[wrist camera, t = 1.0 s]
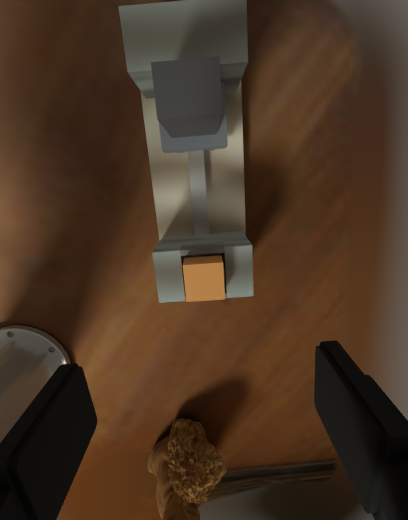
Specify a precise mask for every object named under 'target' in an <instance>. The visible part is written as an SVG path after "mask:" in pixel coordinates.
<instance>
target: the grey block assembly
mask: <svg viewBox="0 0 408 520" xmlns="http://www.w3.org/2000/svg"><path fill="white" fill-rule="evenodd" d="M118 7H119V14H120V21H121V29H122V36H123V43H124V50H125V58H126V65H127V72H128V74H129V75H130V77H131V78H132V79H133V81H134V82H135V84H136V85H137V86H138V88H139V89H140V92H141V100H142V108H143V116H144V123H145V131H146V139H147V147H148V155H149V162H150V170H151V178H152V186H153V194H154V202H155V209H156V217H157V225H158V233H159V241H160V242H159V243H158V245H157V246H156V248H155V249H154V251H153V252H152V253H153V261H154V268H155V275H156V282H157V290H158V297H159V303H163V302H177V301H186V292H185V282H184V273H183V262H184V258H188V257H201V256H215V255H221V256H222V260H223V269H224V287H225V298H233V297H247V296H253V257H252V244H251V243H250V241H249V240H248V239H247V237H246V223H245V190H244V156H243V122H242V88H241V79H242V76H243V74H244V71H245V69H246V66H247V63H248V36H247V0H182V1H171V2H160V3H149V4H138V5H127V6H118ZM216 56H220V75H221V82H225V97H226V119H227V141H228V146H227V147H226V148H224V149H214V150H213V151H206V150H199V151H187V152H185V153H177V152H174V153H165V152H163V151H162V146H161V138H160V129H159V121H158V120H157V112H156V104H155V95H154V86H153V78H152V69H151V62H158V61H170V60H181V59H193V58H204V57H216Z"/></svg>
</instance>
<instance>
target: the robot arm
mask: <svg viewBox="0 0 408 520" xmlns="http://www.w3.org/2000/svg"><path fill="white" fill-rule="evenodd" d="M314 402H315V407H316V410H317V412H318V414H319V416H320V418H321V420H322V423H323V425H324V427H325V429H326V431H327V433H328V435H329V437H330V439H331V441H332V443H333V446H334V448H335V450H336V452H337V454H338V456H339V458H340V460H341V462H342V464H343V467H344V469H345V471H346V473H347V475H348V477H349V479H350V481H351V483H352V485H353V487H354V490H355V492H356V494H357V496H358V498H359V500H360V502H361V504H362V506H363V508H364V510H365V511H366V513H372V515H373V517H374V519H375V520H408V421H407V419H406V418H405V417H404V416H403V415H402V413H401V412H400V411H399V410H398V409H397V407H396V406H395V405H394V404H393V403H392V401H391V400H390V399H389V398H388V397H387V395H386V394H385V393H384V392H383V391H382V389H381V388H380V387H379V386H378V385H377V383H376V382H375V381H374V380H373V379H372V378H371V377H370V376H369V375H364V374H363V372H362V371H361V370H360V369H359V367H358V366H357V365H356V364H355V362H354V361H353V360H352V359H351V357H350V356H349V355H348V354H347V352H346V351H345V350H344V349H343V347H342V346H341V345H340V344H339V342H337V341H324V342H321V343H320V346H316V353H315V393H314ZM96 425H97V416H96V413H95V409H94V406H93V402H92V399H91V396H90V392H89V389H88V385H87V382H86V378H85V375H84V371H83V369H82V367H79V366H78V364H77V363H71V362H70V358H69V356H68V354H67V352H66V351H65V349H64V348H63V347H62V345H61V344H60V343H59V342H58V341H57V340H56V339H54V338H53V337H52V336H50V335H49V334H47V333H45V332H43V331H41V330H39V329H36V328H32V327H29V326H21V325H13V326H7V327H2V328H0V520H56V519H57V516H58V514H59V512H60V510H61V507H62V505H63V503H64V500H65V498H66V496H67V493H68V491H69V489H70V486H71V484H72V482H73V480H74V477H75V475H76V473H77V470H78V468H79V466H80V463H81V461H82V459H83V456H84V454H85V452H86V449H87V447H88V445H89V443H90V440H91V438H92V436H93V433H94V431H95V429H96Z"/></svg>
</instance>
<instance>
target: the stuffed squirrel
mask: <svg viewBox="0 0 408 520" xmlns="http://www.w3.org/2000/svg"><path fill="white" fill-rule="evenodd" d="M170 432H171V433H170V435H169V436H167V437H166V438H164V439H162V440H161V441H159V442H158V443H156V444H155V445H154V447H153V449H152V452H151V454H150V457H149V460H148V470H149V472H151V473H155V476H156V477H157V479H158V481H157V485H156V497H157V505H158V510H159V513H160V516H161V518H162V520H200V514H199V509H200V508H201V505H202V503H203V502H206V501H207V500H208V497H207V496H208V495H210V493H209V492H210V491H211V489H212V490H213V489H214V488H215V485H216V484H217V483H218V482H219V481H220V480H221V478H222V475H224V474H225V472H226V471H227V470H226V469H225V467H224V465H223V460H225V459H226V458H222V456H220V455H219V454H218V456H217V452H216V451H215V447H214V446H213V445H212V444H211V443H209V442H208V441H207V439H206V433H205V430H204V428H203V426H202V424H201V423H200V422H195V421H192V420H190V419H184V418H181V419H177V420H176V421H175V422H174V421H173V426H172V428H171V431H170Z"/></svg>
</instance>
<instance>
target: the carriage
mask: <svg viewBox="0 0 408 520" xmlns="http://www.w3.org/2000/svg"><path fill="white" fill-rule="evenodd" d="M151 69H152V78H153V86H154V95H155V104H156V112H157V120H158V121H159V129H160V138H161V146H162V151H163V152H165V153H174V152H177V153H185V152H187V151H199V150H206V151H213V150H214V149H224V148H226V147H227V146H228V141H227V119H226V97H225V82H221V75H220V56H216V57H204V58H193V59H181V60H170V61H158V62H151Z"/></svg>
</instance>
